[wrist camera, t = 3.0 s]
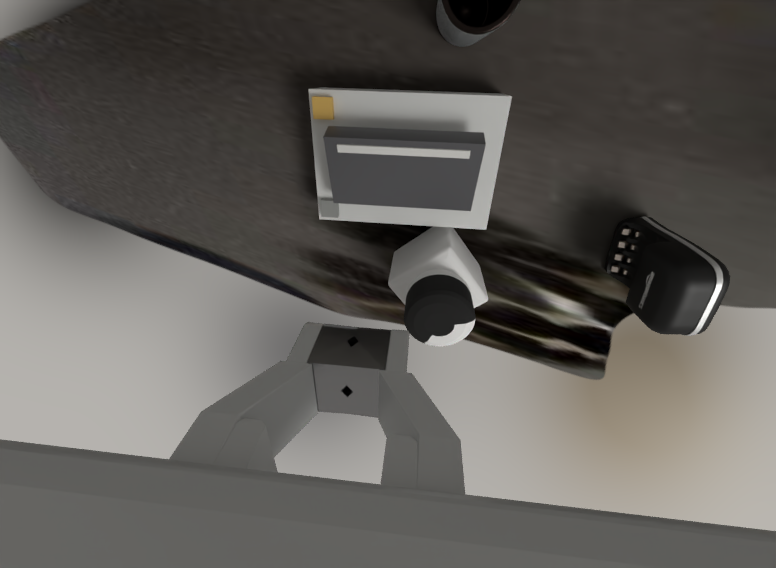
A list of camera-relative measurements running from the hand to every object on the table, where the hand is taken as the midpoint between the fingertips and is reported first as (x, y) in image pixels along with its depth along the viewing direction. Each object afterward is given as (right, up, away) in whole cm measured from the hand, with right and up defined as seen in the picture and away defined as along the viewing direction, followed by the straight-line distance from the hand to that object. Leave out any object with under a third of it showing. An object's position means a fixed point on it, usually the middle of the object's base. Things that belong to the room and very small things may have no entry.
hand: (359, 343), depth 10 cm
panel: (+3, +14, +23) cm, 27 cm away
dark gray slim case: (+2, +11, +18) cm, 21 cm away
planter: (+7, +23, +17) cm, 30 cm away
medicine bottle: (+6, +5, +29) cm, 30 cm away
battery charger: (+25, +6, +26) cm, 37 cm away
